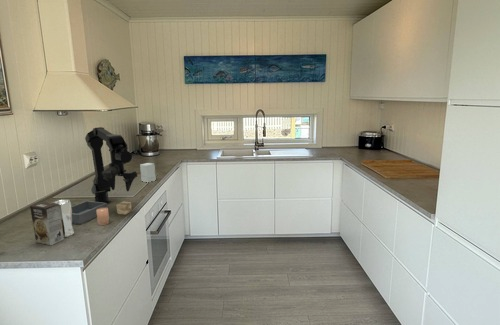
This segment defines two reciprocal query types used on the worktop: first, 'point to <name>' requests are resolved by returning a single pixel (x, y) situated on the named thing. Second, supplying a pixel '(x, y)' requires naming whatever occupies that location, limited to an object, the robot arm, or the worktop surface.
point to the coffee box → (47, 223)
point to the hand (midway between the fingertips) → (120, 190)
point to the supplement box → (147, 172)
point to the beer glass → (66, 217)
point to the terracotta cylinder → (102, 216)
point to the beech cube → (124, 207)
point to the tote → (86, 211)
